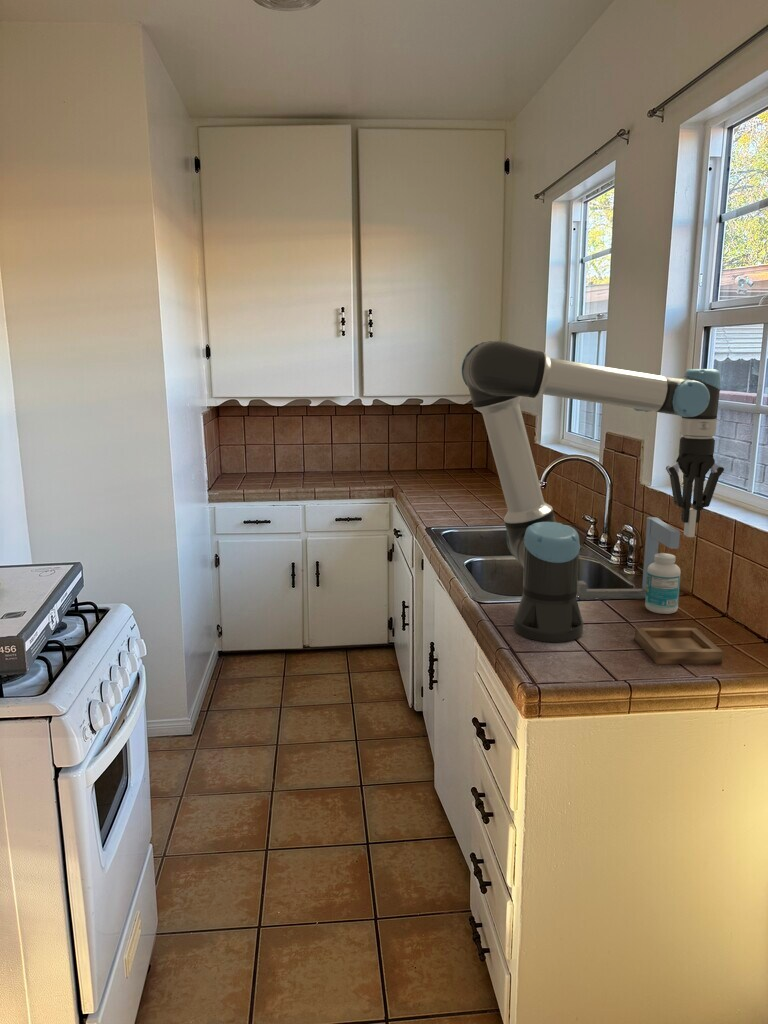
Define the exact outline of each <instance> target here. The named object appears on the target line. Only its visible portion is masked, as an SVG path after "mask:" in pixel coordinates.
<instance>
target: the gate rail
mask: <svg viewBox="0 0 768 1024" xmlns="http://www.w3.org/2000/svg"><path fill="white" fill-rule="evenodd" d="M577 596H579V597H577V598H578V599H579V600H580V601H581V600H583V601H586V600H596V599H595V598H601V599H600V600H644V599H646V590H645V589H644V588H588V584H587V583H586V582H585V580H577Z"/></svg>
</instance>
